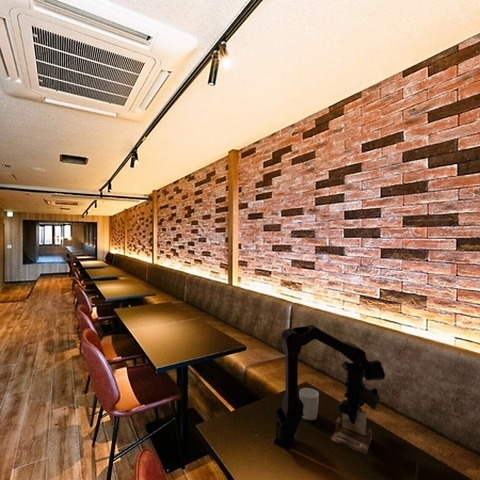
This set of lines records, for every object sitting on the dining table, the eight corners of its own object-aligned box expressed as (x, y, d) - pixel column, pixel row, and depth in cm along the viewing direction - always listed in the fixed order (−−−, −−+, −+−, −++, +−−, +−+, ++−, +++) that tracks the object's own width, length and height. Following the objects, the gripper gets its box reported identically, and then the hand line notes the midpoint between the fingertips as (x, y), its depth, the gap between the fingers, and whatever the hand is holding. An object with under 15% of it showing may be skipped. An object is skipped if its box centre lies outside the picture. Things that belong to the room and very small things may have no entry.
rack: (330, 441, 103) (330, 429, 103) (338, 427, 111) (339, 416, 111) (366, 456, 96) (366, 443, 96) (372, 440, 104) (372, 428, 104)
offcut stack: (334, 440, 103) (335, 435, 103) (337, 436, 105) (337, 431, 105) (361, 452, 97) (361, 446, 97) (363, 447, 99) (363, 441, 99)
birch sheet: (342, 427, 108) (342, 405, 108) (343, 425, 109) (343, 404, 109) (364, 435, 103) (365, 413, 103) (365, 433, 104) (366, 411, 104)
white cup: (304, 409, 123) (304, 385, 123) (321, 416, 118) (322, 392, 118) (295, 417, 117) (295, 393, 117) (313, 425, 112) (313, 400, 112)
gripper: (372, 398, 94) (372, 446, 94) (382, 377, 109) (382, 418, 109) (338, 387, 100) (337, 432, 100) (352, 369, 115) (351, 407, 115)
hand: (353, 422), depth 106 cm, fingers closed on birch sheet, 1 cm apart
